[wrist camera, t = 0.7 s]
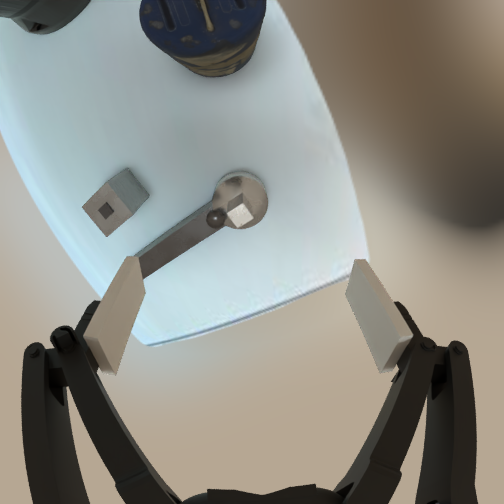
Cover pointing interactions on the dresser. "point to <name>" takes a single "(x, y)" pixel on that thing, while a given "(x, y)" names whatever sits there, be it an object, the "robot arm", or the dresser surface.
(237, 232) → the dresser surface
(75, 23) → the dresser surface
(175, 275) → the dresser surface
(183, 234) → the ratchet
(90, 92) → the dresser surface
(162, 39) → the canister
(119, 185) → the socket
